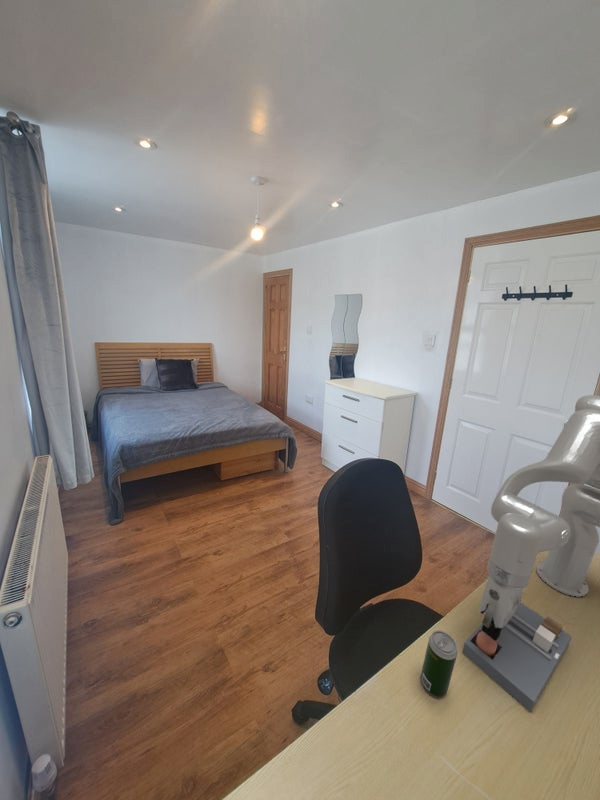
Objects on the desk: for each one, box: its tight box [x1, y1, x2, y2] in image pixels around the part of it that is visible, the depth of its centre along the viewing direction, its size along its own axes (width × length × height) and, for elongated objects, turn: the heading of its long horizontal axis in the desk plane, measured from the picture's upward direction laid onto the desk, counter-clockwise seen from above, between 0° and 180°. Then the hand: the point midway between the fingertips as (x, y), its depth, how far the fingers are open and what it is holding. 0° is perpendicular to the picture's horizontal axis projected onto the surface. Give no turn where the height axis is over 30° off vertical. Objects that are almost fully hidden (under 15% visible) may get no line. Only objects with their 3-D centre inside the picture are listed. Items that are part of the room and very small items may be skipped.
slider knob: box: [532, 625, 556, 653], centre depth 74 cm, size 3×3×3 cm
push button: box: [474, 631, 497, 660], centre depth 74 cm, size 4×4×4 cm
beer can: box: [420, 630, 458, 699], centre depth 66 cm, size 5×5×12 cm
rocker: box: [541, 616, 564, 637], centre depth 78 cm, size 5×3×1 cm, turn 127°
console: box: [461, 601, 573, 713], centre depth 76 cm, size 24×14×4 cm, turn 126°
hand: (490, 633), depth 73 cm, fingers closed
